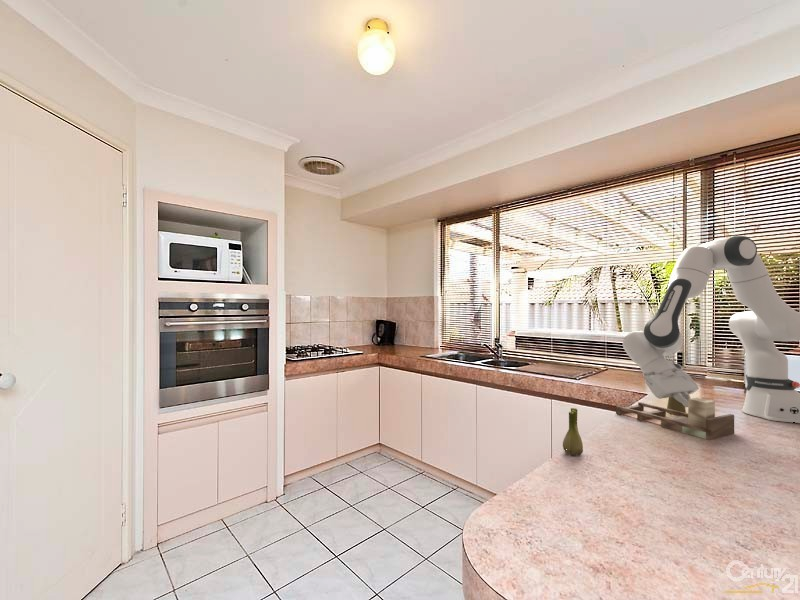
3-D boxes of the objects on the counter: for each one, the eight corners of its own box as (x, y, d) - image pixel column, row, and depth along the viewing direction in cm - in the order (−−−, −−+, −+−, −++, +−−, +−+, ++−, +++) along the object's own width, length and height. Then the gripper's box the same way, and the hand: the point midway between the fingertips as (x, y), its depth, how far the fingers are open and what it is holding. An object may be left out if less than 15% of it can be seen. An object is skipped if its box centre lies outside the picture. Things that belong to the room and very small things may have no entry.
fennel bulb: (573, 458, 99) (573, 412, 99) (557, 452, 103) (557, 407, 103) (587, 455, 101) (587, 409, 102) (571, 448, 106) (572, 405, 106)
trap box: (734, 433, 120) (734, 414, 120) (709, 439, 114) (709, 419, 114) (639, 410, 147) (639, 394, 147) (615, 413, 141) (615, 397, 142)
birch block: (714, 426, 121) (714, 401, 121) (706, 428, 119) (705, 402, 119) (697, 421, 126) (696, 397, 126) (688, 423, 124) (688, 399, 124)
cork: (679, 411, 146) (679, 382, 147) (690, 415, 140) (689, 385, 140) (663, 410, 147) (662, 382, 147) (672, 415, 141) (672, 385, 141)
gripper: (647, 367, 128) (679, 403, 119) (683, 364, 137) (715, 397, 128) (634, 378, 132) (664, 414, 123) (670, 374, 141) (700, 408, 132)
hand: (690, 406), depth 125 cm, fingers closed, pressing on birch block
